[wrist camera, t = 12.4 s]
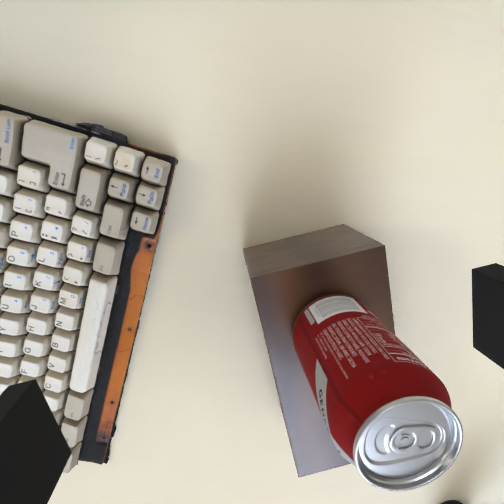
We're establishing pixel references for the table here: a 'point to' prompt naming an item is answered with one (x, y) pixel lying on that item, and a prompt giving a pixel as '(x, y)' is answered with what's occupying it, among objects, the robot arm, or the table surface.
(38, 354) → the mechanical keyboard
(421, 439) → the soda can
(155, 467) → the table surface
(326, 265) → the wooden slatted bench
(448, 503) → the drinking cup
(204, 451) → the table surface
